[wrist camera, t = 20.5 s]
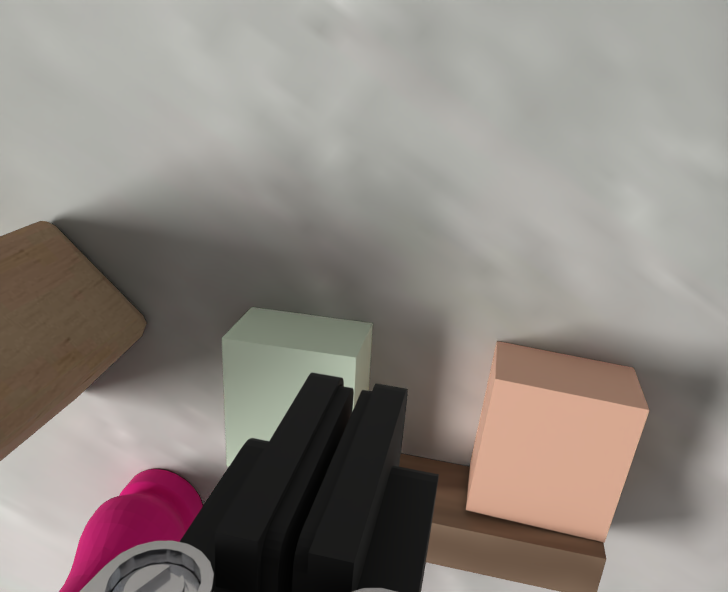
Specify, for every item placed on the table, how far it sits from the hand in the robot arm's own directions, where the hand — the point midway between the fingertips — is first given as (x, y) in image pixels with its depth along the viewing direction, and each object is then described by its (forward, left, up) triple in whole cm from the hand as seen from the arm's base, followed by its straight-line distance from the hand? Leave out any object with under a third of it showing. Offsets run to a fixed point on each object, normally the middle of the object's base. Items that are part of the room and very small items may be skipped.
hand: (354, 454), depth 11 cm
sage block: (+15, -8, -27) cm, 32 cm away
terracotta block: (+15, +7, -27) cm, 32 cm away
